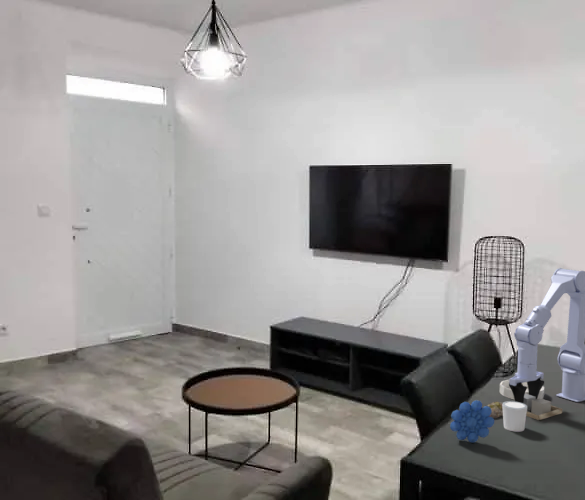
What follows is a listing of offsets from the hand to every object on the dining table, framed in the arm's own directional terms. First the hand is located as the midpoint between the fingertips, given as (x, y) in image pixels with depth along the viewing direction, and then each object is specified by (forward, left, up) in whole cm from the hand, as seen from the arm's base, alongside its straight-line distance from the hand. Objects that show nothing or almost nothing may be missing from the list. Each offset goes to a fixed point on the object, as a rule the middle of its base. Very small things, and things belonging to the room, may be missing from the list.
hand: (525, 403), depth 190 cm
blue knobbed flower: (+35, +9, -2) cm, 37 cm away
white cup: (+17, +9, -2) cm, 20 cm away
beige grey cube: (0, +6, -2) cm, 6 cm away
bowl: (-11, -9, -1) cm, 14 cm away
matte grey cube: (0, 0, -2) cm, 2 cm away
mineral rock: (+13, -2, -2) cm, 13 cm away
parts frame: (0, +3, -1) cm, 3 cm away
